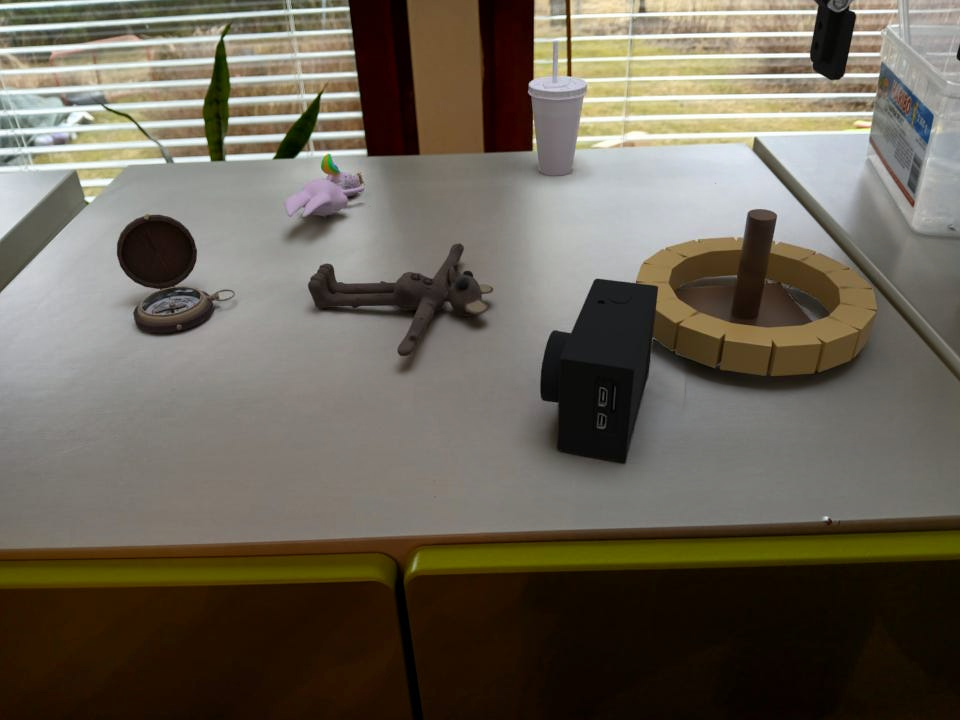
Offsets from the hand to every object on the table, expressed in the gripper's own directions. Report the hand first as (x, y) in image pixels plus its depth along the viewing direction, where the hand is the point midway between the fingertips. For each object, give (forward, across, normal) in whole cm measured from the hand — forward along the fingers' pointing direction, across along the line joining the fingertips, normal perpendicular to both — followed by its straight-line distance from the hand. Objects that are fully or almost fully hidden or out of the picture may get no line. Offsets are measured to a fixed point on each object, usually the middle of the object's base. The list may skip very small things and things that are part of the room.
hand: (900, 70), depth 51 cm
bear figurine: (+18, +34, -6) cm, 39 cm away
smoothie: (+19, +17, -36) cm, 44 cm away
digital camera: (+18, +21, +9) cm, 29 cm away
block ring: (+17, +8, 0) cm, 19 cm away
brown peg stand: (+18, +8, 0) cm, 20 cm away
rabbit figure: (+18, +42, -27) cm, 53 cm away
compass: (+18, +52, -8) cm, 55 cm away
